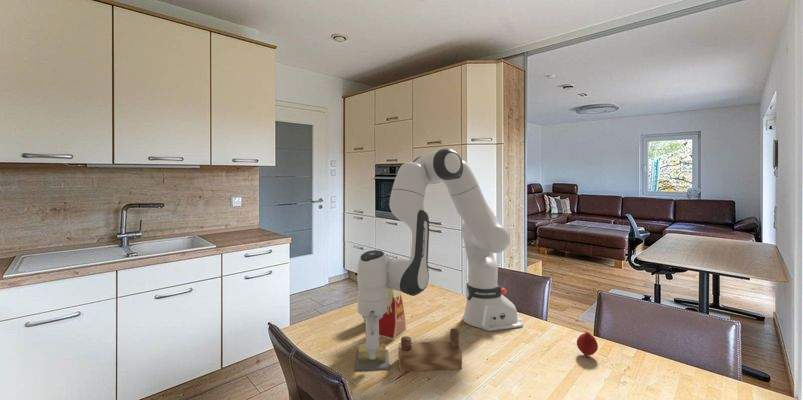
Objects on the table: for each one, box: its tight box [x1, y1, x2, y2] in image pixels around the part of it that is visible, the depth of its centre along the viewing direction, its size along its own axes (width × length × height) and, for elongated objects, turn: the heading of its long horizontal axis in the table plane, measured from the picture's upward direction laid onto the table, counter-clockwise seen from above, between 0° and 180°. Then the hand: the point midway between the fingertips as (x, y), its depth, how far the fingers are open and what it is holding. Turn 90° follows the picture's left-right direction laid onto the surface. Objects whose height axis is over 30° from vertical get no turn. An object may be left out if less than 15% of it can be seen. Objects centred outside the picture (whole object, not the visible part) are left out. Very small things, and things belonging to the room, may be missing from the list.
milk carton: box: [379, 288, 407, 342], centre depth 126 cm, size 9×9×20 cm
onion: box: [576, 330, 599, 357], centre depth 111 cm, size 6×6×8 cm
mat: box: [354, 349, 391, 371], centre depth 108 cm, size 10×10×1 cm
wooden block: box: [358, 342, 387, 363], centre depth 108 cm, size 8×4×4 cm, turn 95°
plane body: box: [398, 328, 463, 372], centre depth 106 cm, size 18×7×10 cm, turn 95°
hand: (372, 349), depth 108 cm, fingers open, 8 cm apart
